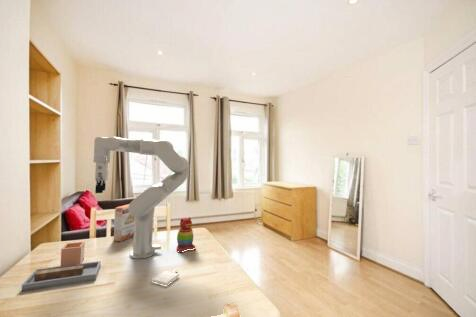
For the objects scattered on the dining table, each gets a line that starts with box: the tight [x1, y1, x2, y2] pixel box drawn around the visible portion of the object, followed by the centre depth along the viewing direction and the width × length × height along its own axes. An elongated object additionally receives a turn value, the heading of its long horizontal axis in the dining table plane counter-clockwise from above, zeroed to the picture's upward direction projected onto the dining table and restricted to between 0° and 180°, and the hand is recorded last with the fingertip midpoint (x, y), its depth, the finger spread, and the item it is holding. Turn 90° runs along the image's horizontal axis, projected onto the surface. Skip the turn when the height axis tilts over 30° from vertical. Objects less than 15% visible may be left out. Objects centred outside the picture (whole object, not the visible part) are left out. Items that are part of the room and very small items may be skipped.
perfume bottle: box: [151, 268, 180, 285], centre depth 98 cm, size 8×2×12 cm
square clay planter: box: [60, 241, 86, 266], centre depth 108 cm, size 8×8×9 cm
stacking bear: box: [176, 217, 196, 253], centre depth 131 cm, size 11×10×18 cm
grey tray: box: [21, 260, 102, 292], centre depth 95 cm, size 24×13×2 cm, turn 114°
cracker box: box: [113, 203, 135, 243], centre depth 145 cm, size 14×6×21 cm, turn 168°
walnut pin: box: [34, 265, 84, 282], centre depth 95 cm, size 8×3×16 cm
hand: (100, 191), depth 120 cm, fingers open, 9 cm apart
